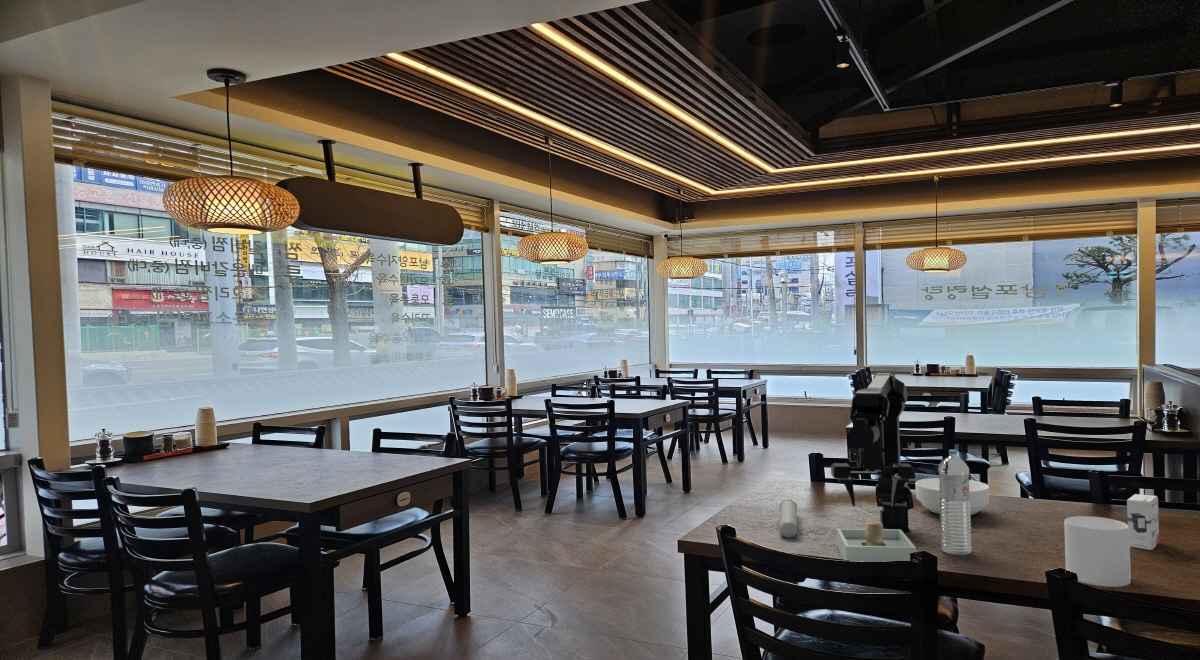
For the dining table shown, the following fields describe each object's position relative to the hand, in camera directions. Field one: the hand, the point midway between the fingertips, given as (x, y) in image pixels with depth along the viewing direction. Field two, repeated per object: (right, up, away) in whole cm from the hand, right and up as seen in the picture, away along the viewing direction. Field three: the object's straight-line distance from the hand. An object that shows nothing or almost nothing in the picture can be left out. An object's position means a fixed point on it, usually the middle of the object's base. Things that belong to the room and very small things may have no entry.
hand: (873, 506), depth 179 cm
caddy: (0, -12, 0) cm, 12 cm away
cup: (+42, -11, -19) cm, 47 cm away
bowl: (+38, -11, +38) cm, 55 cm away
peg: (0, -12, 0) cm, 12 cm away
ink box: (+68, -10, +2) cm, 69 cm away
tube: (-13, -13, +29) cm, 34 cm away
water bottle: (+21, -12, +2) cm, 24 cm away
